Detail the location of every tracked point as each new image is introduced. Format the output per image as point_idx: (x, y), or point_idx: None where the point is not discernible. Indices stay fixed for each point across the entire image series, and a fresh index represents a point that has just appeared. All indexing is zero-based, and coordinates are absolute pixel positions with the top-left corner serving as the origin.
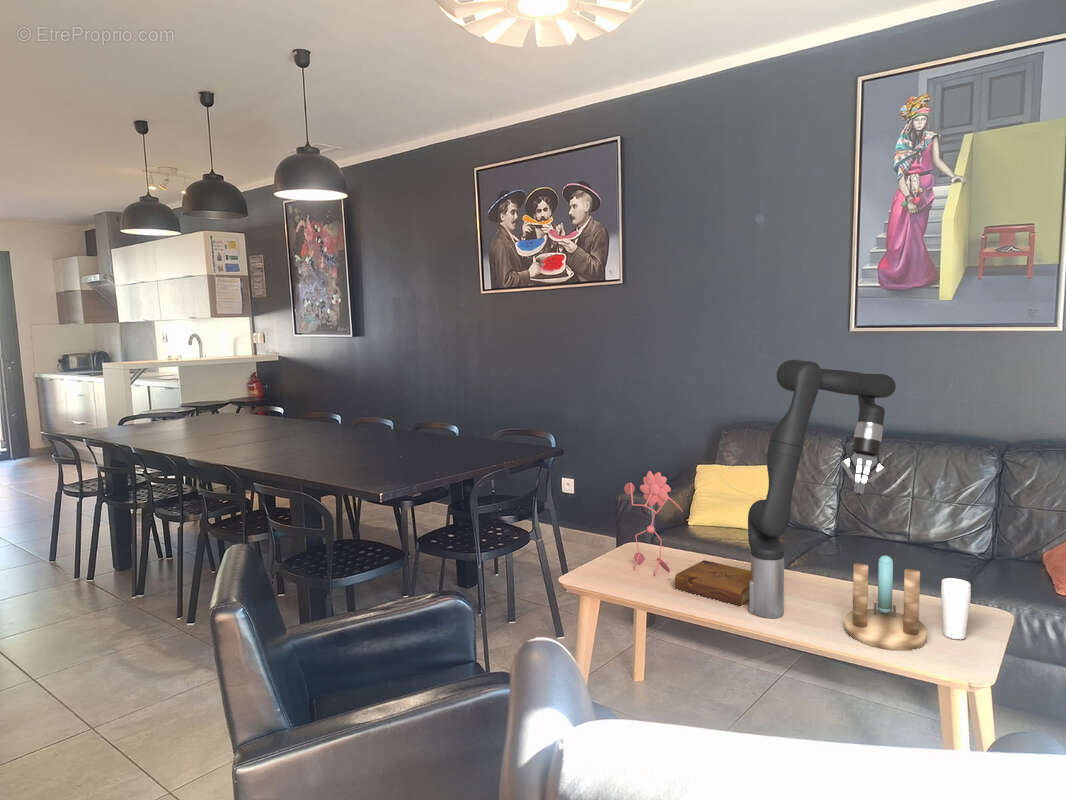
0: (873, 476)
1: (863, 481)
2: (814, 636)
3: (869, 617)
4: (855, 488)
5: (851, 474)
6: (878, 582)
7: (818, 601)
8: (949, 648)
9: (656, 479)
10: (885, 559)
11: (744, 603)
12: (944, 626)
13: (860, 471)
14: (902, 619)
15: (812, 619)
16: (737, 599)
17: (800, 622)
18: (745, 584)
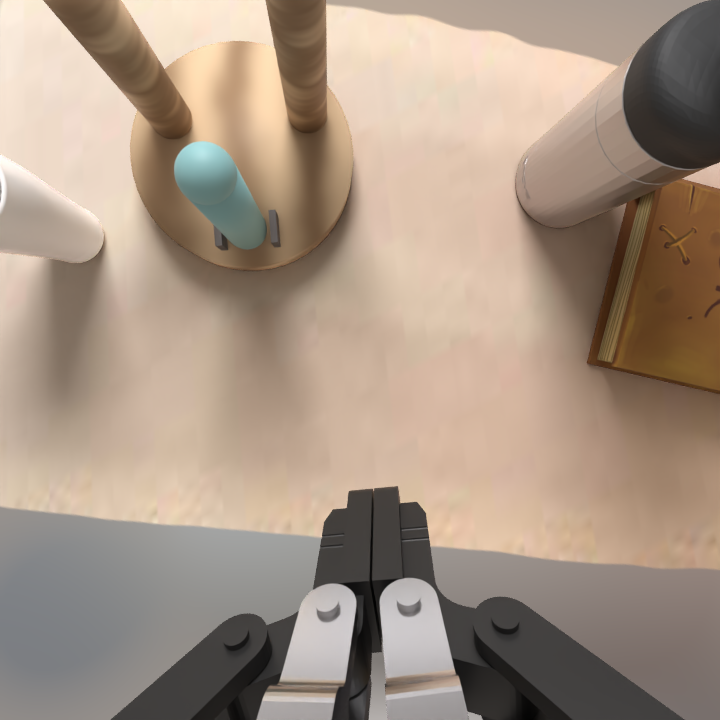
0: (187, 704)
1: (333, 594)
2: (416, 67)
3: (287, 184)
4: (413, 530)
5: (523, 650)
6: (251, 195)
7: (441, 336)
8: (87, 144)
9: None
10: (201, 144)
11: (628, 211)
12: (87, 215)
13: (395, 717)
14: (199, 212)
15: (437, 187)
16: None
17: (464, 150)
18: (665, 238)
